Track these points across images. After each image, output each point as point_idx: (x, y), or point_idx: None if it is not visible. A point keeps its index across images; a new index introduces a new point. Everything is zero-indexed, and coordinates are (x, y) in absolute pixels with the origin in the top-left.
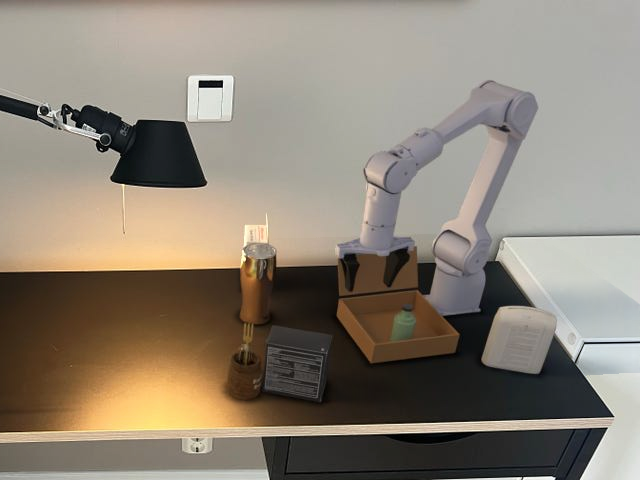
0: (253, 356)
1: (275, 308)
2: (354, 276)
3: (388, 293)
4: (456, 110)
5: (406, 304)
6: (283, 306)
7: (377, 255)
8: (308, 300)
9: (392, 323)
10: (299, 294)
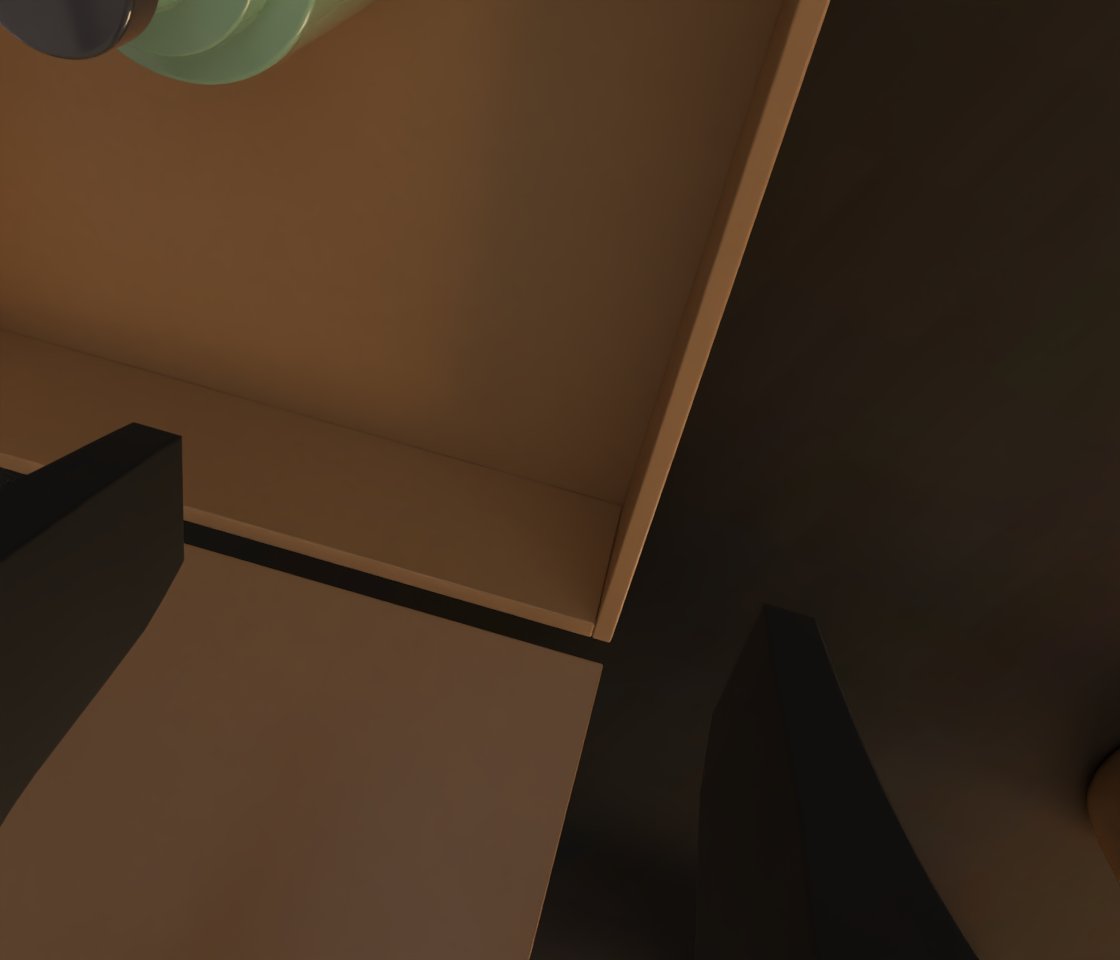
0: None
1: (974, 790)
2: (828, 854)
3: None
4: None
5: (50, 20)
6: (900, 780)
7: (21, 930)
8: (677, 746)
9: (238, 210)
10: (685, 813)
